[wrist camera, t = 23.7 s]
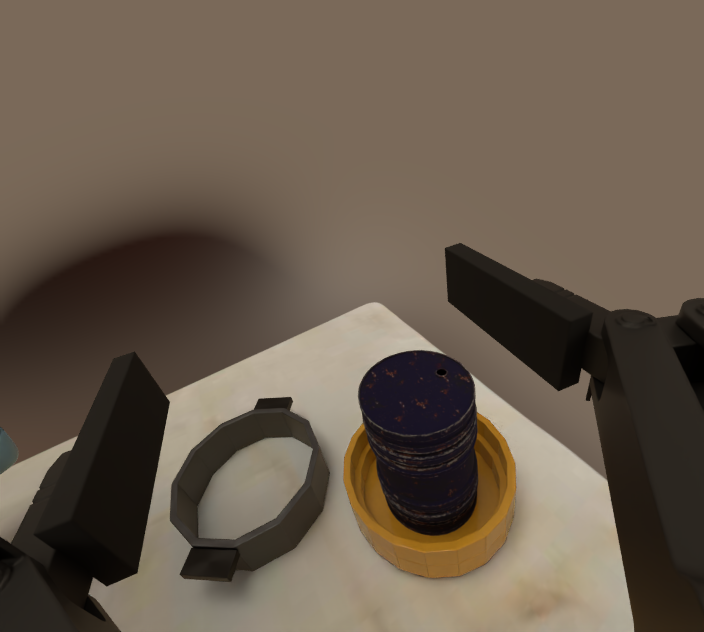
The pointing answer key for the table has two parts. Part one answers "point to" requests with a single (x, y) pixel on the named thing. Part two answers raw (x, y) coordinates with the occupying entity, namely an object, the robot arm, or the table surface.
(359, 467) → the bowl
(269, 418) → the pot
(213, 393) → the table surface
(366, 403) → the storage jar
